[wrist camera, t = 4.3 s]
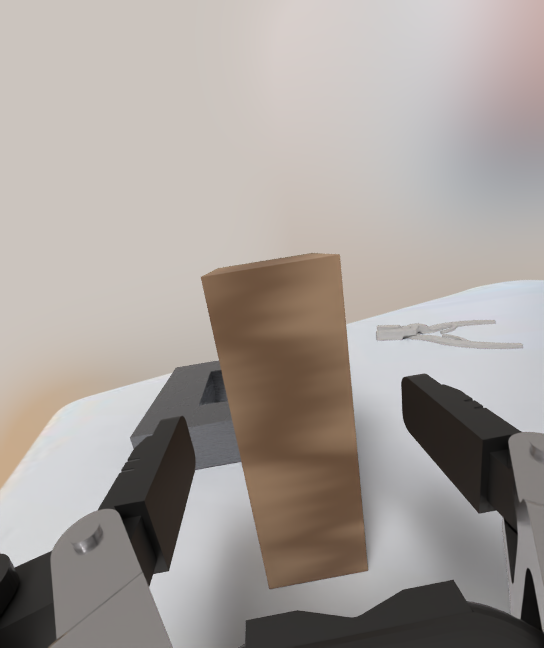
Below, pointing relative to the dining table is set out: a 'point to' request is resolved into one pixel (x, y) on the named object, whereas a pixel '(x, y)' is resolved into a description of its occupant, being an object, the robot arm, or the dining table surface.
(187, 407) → the socket block
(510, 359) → the dining table surface
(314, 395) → the walnut peg
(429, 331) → the pliers
